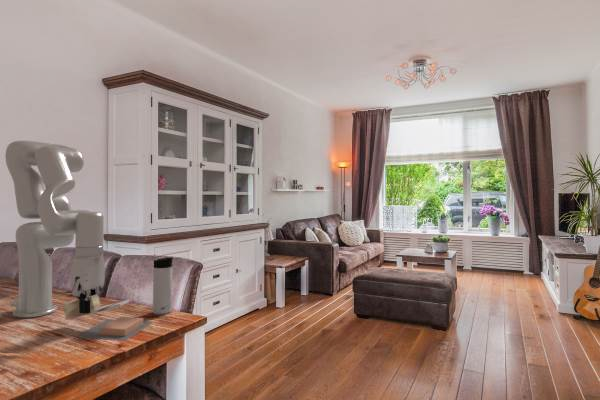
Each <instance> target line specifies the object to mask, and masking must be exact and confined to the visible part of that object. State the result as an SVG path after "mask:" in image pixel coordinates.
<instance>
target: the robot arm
mask: <svg viewBox="0 0 600 400" xmlns="http://www.w3.org/2000/svg"><path fill="white" fill-rule="evenodd" d="M84 161H85V160H84V157H83V154H82V152H80V150H78V149H77V148H73V147H70V146H66V145H62V144H58V143H57V144H56V143H48V142H41V141H39V142H38V141H31V140H15V141H12V142H10V143H9V144H8V145H7V146H6V150H5V164H6V167H7V170H8V172H9V175H10V176H11V179H12V181H13V187H14V195H15V201H16V208H17V212H18V214H19V216H20V217H21V218H22V219H26V220H27V219H28V220H40V221H34V222H33V221H32V222H31V221H30V222H26V223H23V224H21V225H19V227H17V229H16V230H15V242H16V246H17V252H18V299H17V298H15V299H13V301H12V302H10V304H9V306H10V307H15V310H14V311H12V316H13V317H14V318H18V319H19V318H20V319H21V318H22V319H24V318H25V319H26V318H37V317H42V316H47V315H49V314H50V315H51V314H52V313H55V312H56V311H57V310H58V306H57V305H56V304H53V260H52V258H51V256H50V255H49V254H48V253H47V252H46V250H47V249H53V248H54V249H56V248H61V247H62V248H63V247H67V246H70V245H71V244H72V243H73V242H74V238H75V245H74V246H75V247H74V250H75V254H74V255H75V257H74V258H73V259H72V260H73V261H72V266H71V272H70V273H71V274H70V290H71V291H72V292H71V295H72V296H74V297H76V298H77V299H78V300H79V313H85V314H88V313H90V300H89V296H92V295H96V294H98V297H100V295H101V294H100V292H101V290H102V288H103V287H104V285H105V277H106V271H105V258H104V226H105V225H104V215H103V213H102V212H99V211H89V210H86V209H85V210H84V209H83V210H81V209H80V210H79V209H78V210H77V209H75V210H74V209H73V210H72V209H71V203H70V201H69V199H68V198H67V196H66V195H65V194H67V193H70V192H71V191H73V189H74V188H75V186H76V180H75V178H74V176H73V173H77V172H80V171H81V170H82V169H83V167H84V164H85V162H84ZM32 166H35V167H36V166H37V170H38V172H39V173H38V172H37V171H36V170H35V169H34V168H33V167H32ZM88 315H89V314H88Z"/></svg>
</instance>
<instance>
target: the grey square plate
mask: <svg viewBox="0 0 600 400" xmlns="http://www.w3.org/2000/svg"><path fill="white" fill-rule="evenodd" d="M113 320H114V319H110V318H107V319H106V320H104V321H101V322H100V323H98V324H96V325H94V326H92V327H90V328H88V329H86V330H85V331H83V332H80V333H79V334H76V335H74V336H73V338H75V339H76V338H78V339H92V340H105V341H107V340H108V341H109V340H110V341H122V342H124V341H127V340H128V339H130V338H132V337H134V336H135V335H136V334H138V333H140V332H141V331H143V330H144V329H145V328H148V327H149V326H150V325H152V324H153V323H154V321H144V320H143V325H142V326H140V327H139V328H137V329H136V330H134V331H132V332H131V333H129V334H128V335H126V336H115V335H100V327H102V326H104V325H106V324H108V323H109V322H111V321H113Z"/></svg>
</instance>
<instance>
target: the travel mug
mask: <svg viewBox="0 0 600 400" xmlns="http://www.w3.org/2000/svg"><path fill="white" fill-rule="evenodd" d="M173 260H174V257H173V256H172V257H162V258H157V259H153V271H152V272H153V273H152V274H153V277H152V278H153V280H152V283H153V285H152V314H153V315H155V316H166V315H170V314H172V312H173Z"/></svg>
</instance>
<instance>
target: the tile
mask: <svg viewBox="0 0 600 400" xmlns="http://www.w3.org/2000/svg"><path fill="white" fill-rule="evenodd" d="M112 320H113V321H111V322H109V323H108V324H106V325H104V326H102V327H100V335H115V336H126V335H128V334H129V333H131V332H132V331H134V330H136V329H137V328H139V327H140V326H142V325H143V321H144V317H127V316H119V317H117V318H115V319H112Z"/></svg>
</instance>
